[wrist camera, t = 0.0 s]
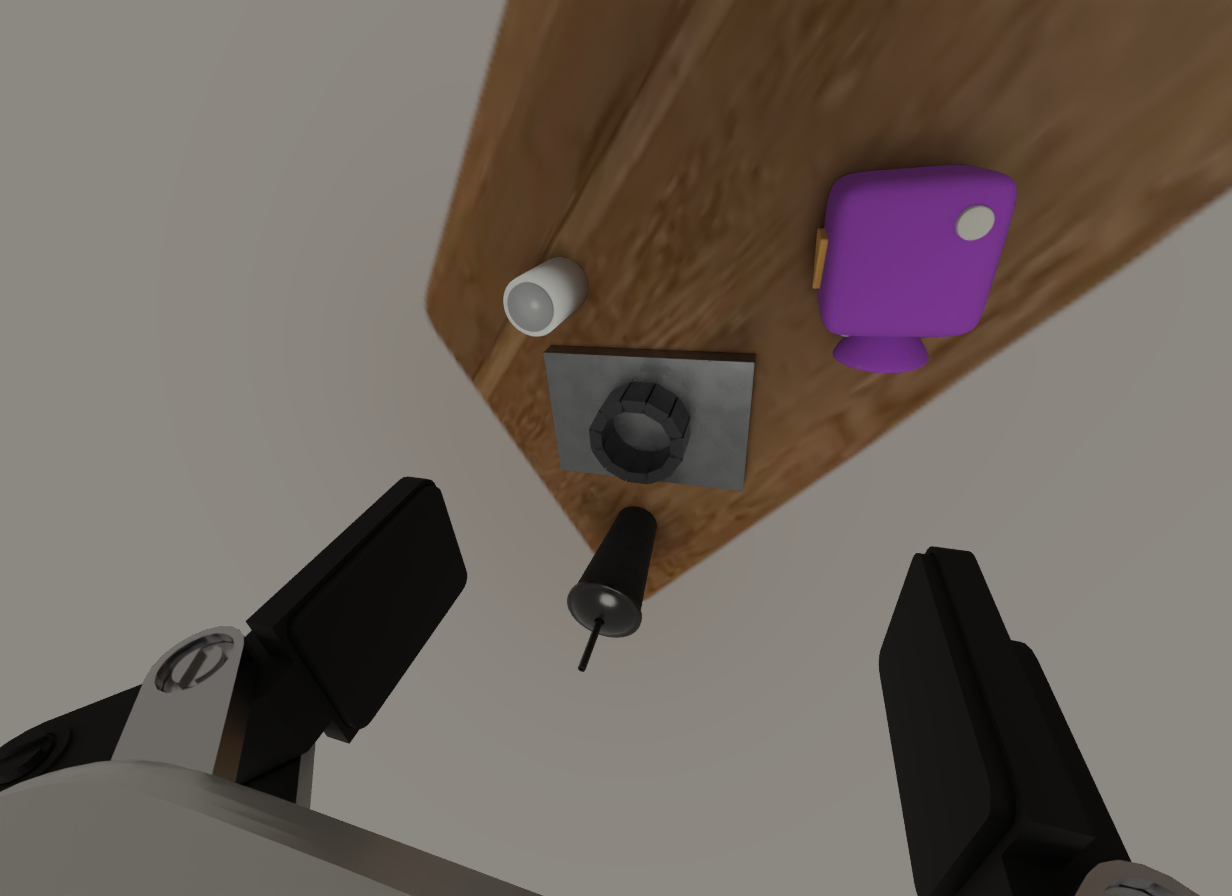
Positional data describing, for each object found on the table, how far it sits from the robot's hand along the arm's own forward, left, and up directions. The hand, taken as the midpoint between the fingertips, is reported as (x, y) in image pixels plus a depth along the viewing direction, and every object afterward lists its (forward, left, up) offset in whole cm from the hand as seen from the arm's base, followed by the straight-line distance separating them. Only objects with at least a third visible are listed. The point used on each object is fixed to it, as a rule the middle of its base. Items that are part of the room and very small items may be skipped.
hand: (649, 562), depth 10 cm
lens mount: (+17, -9, -37) cm, 42 cm away
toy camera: (+2, +10, -37) cm, 38 cm away
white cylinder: (+4, -17, -37) cm, 41 cm away
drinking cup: (+32, -11, -37) cm, 50 cm away
